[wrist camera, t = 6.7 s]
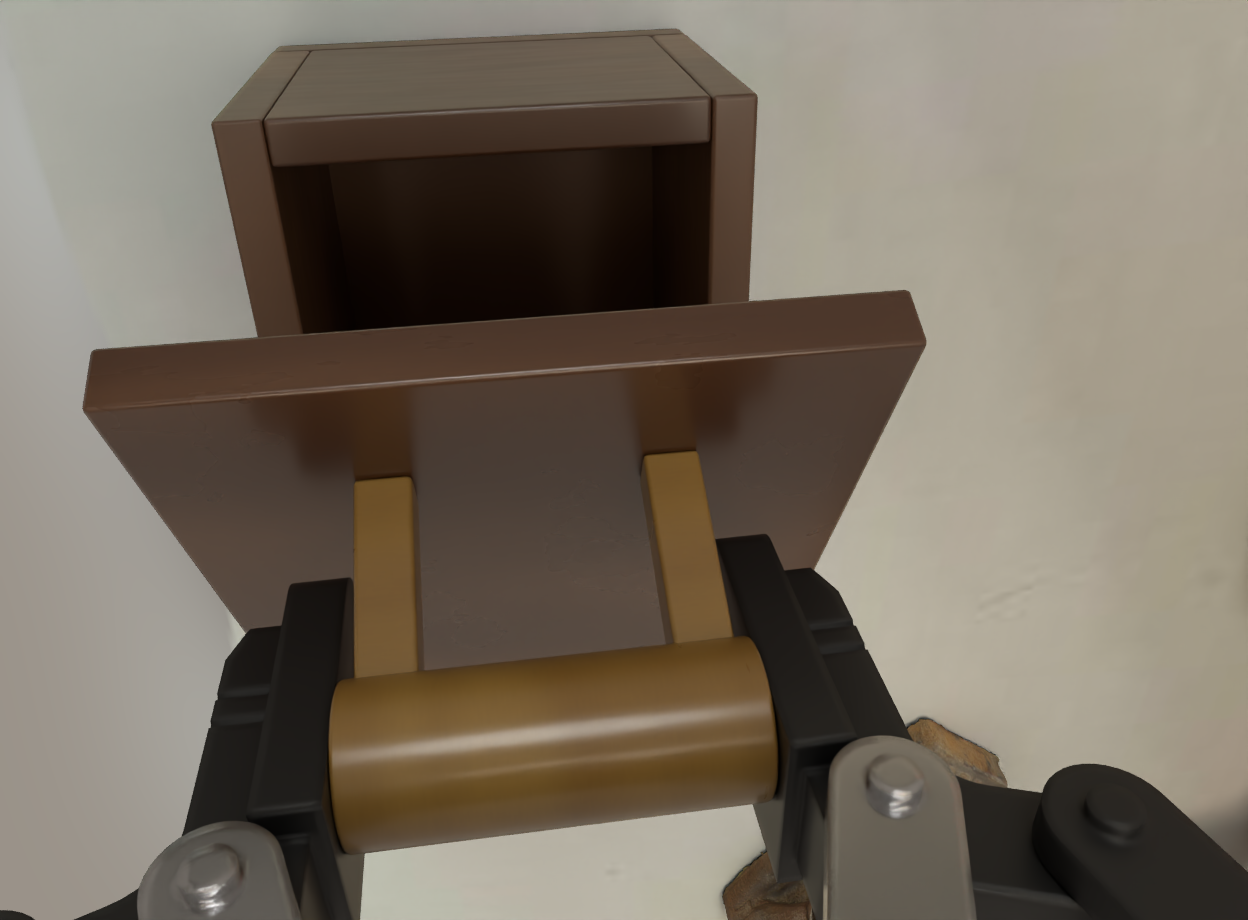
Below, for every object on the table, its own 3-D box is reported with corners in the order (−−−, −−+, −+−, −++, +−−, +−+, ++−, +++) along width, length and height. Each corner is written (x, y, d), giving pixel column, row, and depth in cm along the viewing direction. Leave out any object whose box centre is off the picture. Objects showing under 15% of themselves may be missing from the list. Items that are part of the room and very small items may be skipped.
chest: (276, 45, 23) (209, 121, 17) (679, 27, 24) (759, 93, 18) (368, 548, 30) (344, 735, 24) (676, 519, 31) (732, 690, 25)
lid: (88, 346, 11) (12, 842, 8) (911, 287, 12) (1057, 714, 9) (342, 732, 23) (342, 977, 21) (733, 687, 24) (777, 916, 22)
